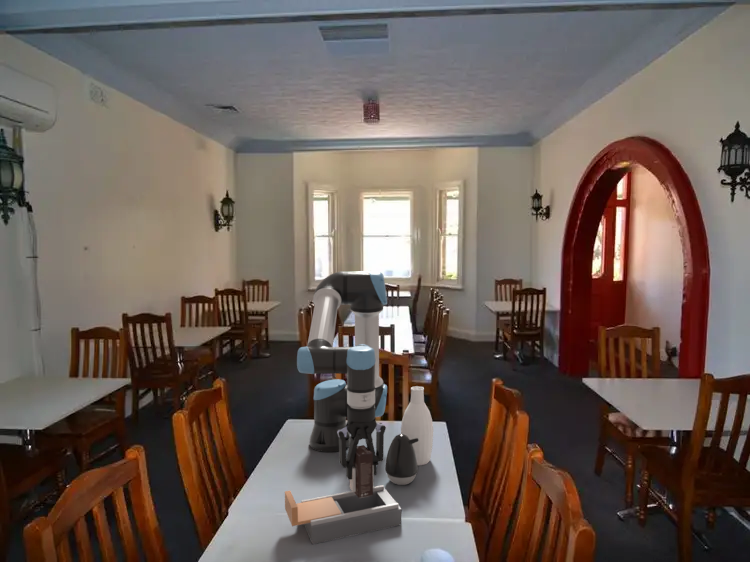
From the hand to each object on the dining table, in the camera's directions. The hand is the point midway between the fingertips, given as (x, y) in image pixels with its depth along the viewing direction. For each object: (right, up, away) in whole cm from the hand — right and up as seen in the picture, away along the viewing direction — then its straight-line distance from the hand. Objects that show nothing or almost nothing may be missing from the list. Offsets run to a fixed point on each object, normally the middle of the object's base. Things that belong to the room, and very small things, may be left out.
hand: (361, 487), depth 143 cm
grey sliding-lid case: (-3, -9, 0) cm, 10 cm away
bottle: (+18, -5, +38) cm, 42 cm away
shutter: (-13, -5, -4) cm, 14 cm away
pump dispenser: (+12, -7, +23) cm, 27 cm away
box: (0, -1, 0) cm, 1 cm away
